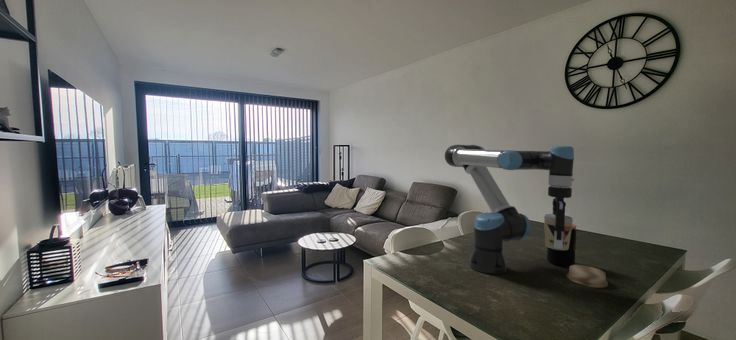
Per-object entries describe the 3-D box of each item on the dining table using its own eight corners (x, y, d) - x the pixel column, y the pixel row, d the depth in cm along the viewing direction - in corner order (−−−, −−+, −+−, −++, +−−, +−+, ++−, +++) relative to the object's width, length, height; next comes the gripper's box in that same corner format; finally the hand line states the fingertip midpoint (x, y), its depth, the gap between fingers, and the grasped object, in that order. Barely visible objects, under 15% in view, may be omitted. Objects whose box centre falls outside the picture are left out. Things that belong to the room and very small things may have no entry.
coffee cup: (544, 248, 110) (546, 217, 109) (540, 241, 119) (542, 212, 118) (574, 252, 106) (576, 220, 106) (567, 245, 115) (569, 215, 114)
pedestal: (569, 283, 112) (569, 272, 112) (564, 271, 124) (565, 262, 124) (612, 290, 106) (612, 280, 106) (603, 277, 118) (603, 267, 117)
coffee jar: (579, 268, 127) (581, 227, 126) (552, 266, 129) (554, 226, 128) (567, 259, 137) (569, 222, 136) (543, 258, 140) (544, 221, 139)
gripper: (576, 190, 100) (572, 254, 101) (567, 184, 119) (564, 238, 120) (550, 188, 103) (547, 251, 105) (546, 183, 122) (543, 236, 124)
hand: (556, 244), depth 113 cm, fingers closed on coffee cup, 9 cm apart
